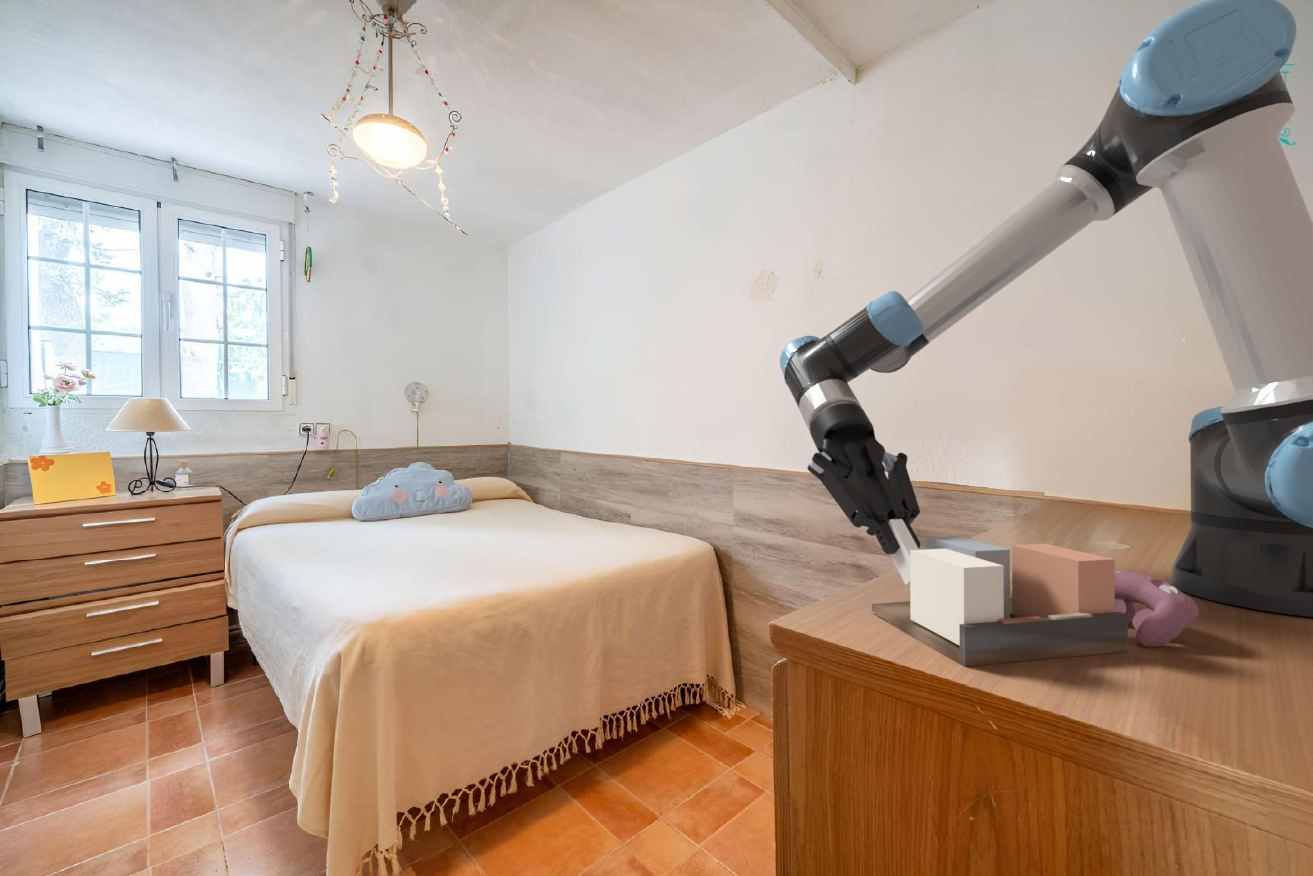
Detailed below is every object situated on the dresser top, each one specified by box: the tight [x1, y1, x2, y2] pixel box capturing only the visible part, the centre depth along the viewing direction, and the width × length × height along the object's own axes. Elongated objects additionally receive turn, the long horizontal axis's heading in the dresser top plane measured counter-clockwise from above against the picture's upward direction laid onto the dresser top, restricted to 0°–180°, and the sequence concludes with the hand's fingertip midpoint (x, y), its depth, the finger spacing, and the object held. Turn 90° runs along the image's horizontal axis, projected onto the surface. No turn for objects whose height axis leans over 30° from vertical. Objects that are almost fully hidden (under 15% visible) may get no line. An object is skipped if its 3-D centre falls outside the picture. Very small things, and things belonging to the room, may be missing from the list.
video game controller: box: [1115, 570, 1199, 648], centre depth 52 cm, size 10×5×7 cm, turn 0°
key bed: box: [871, 597, 1129, 667], centre depth 51 cm, size 14×17×4 cm
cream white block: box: [909, 549, 1004, 646], centre depth 48 cm, size 7×4×7 cm, turn 10°
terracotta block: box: [1011, 543, 1116, 618], centre depth 50 cm, size 7×4×7 cm, turn 10°
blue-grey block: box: [925, 535, 1011, 619], centre depth 54 cm, size 7×4×7 cm, turn 10°
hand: (918, 578), depth 53 cm, fingers closed
